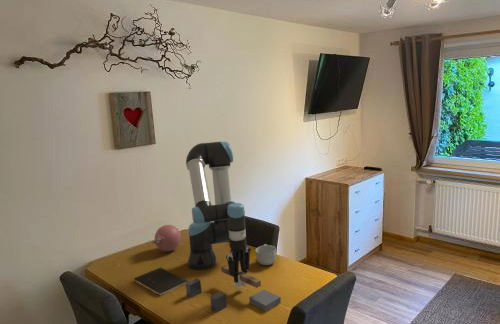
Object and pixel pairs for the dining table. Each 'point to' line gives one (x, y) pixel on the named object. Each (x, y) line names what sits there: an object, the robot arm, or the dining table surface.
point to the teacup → (266, 254)
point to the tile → (264, 300)
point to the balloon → (167, 238)
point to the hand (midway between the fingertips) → (240, 286)
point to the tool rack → (216, 300)
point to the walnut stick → (243, 277)
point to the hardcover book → (161, 281)
